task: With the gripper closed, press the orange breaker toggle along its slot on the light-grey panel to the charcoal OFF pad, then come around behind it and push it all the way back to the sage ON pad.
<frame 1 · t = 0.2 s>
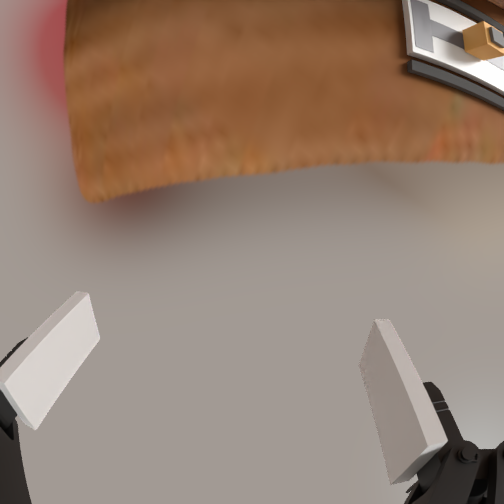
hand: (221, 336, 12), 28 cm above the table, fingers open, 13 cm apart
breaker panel: (465, 48, 26), on the table
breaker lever: (485, 41, 20), point 6 cm above the table, slide at 0.0 cm
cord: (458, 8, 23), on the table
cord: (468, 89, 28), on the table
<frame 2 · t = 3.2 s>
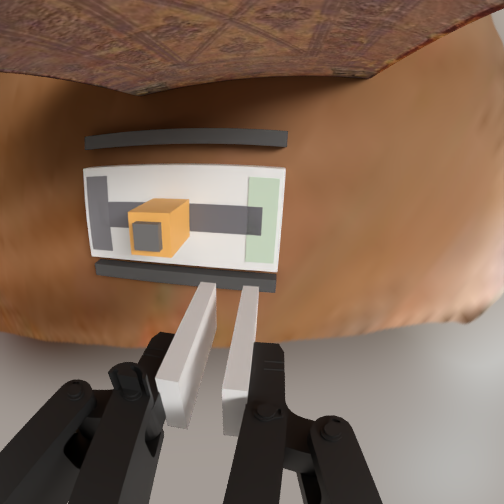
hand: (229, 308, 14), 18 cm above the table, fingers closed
book: (248, 42, 25), on the table
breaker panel: (178, 212, 32), on the table
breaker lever: (159, 226, 26), point 6 cm above the table, slide at 0.0 cm
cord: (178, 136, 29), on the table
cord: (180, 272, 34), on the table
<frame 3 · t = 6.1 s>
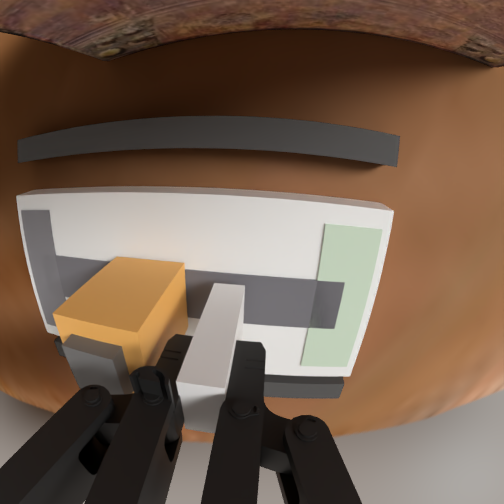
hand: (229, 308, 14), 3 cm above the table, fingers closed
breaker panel: (177, 276, 17), on the table
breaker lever: (127, 327, 12), point 6 cm above the table, slide at -0.8 cm, touching gripper
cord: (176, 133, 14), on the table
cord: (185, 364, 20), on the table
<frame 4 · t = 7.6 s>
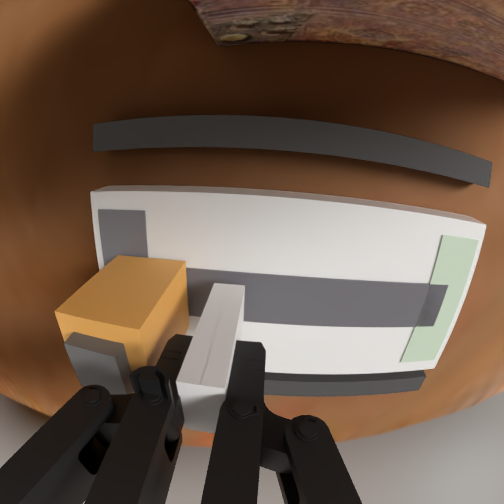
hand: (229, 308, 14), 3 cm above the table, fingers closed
book: (417, 0, 10), on the table
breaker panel: (292, 284, 17), on the table
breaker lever: (128, 325, 12), point 6 cm above the table, slide at -7.8 cm, touching gripper
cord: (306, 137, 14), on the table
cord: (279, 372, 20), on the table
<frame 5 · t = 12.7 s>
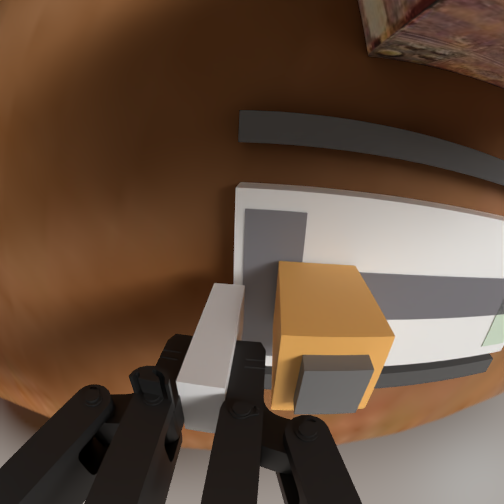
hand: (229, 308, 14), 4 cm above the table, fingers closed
book: (501, 39, 10), on the table
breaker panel: (412, 282, 17), on the table
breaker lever: (321, 336, 12), point 6 cm above the table, slide at -7.2 cm, touching gripper
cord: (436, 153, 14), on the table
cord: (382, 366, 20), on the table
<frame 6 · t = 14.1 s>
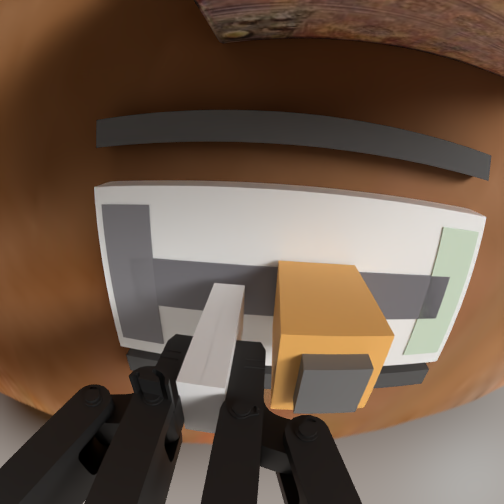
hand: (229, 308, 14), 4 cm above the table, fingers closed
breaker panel: (295, 277, 17), on the table
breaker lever: (321, 335, 12), point 6 cm above the table, slide at 0.8 cm, touching gripper
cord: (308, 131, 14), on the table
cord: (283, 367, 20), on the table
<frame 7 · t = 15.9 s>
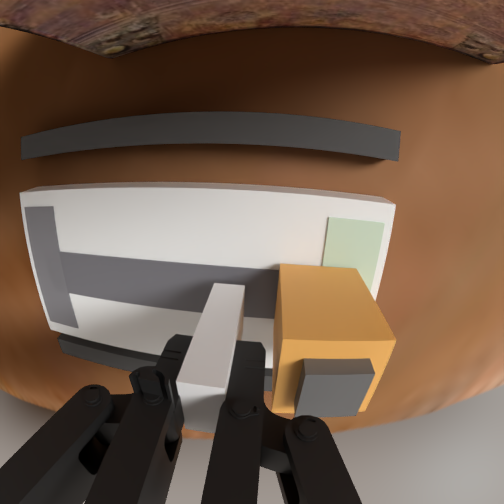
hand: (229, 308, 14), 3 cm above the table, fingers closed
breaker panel: (182, 271, 18), on the table
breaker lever: (322, 339, 12), point 6 cm above the table, slide at 7.8 cm, touching gripper
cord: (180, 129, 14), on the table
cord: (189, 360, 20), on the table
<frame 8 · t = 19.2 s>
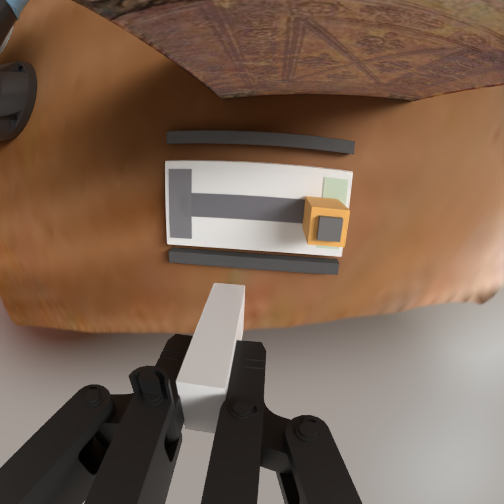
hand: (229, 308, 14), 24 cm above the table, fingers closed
book: (319, 62, 30), on the table
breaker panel: (256, 204, 37), on the table
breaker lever: (324, 220, 31), point 6 cm above the table, slide at 7.9 cm
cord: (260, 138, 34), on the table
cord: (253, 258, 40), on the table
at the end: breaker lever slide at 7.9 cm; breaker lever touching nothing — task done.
